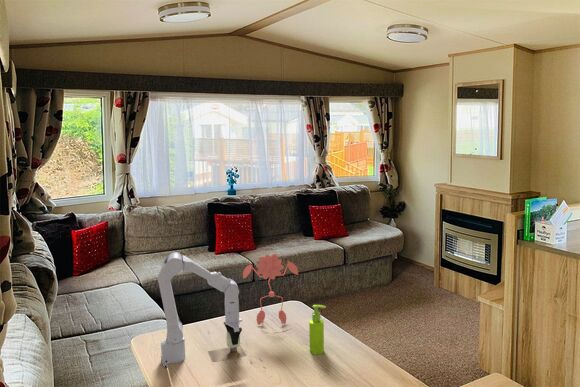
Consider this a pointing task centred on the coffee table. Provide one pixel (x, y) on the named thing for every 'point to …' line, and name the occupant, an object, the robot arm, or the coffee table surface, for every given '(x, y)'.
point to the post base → (226, 353)
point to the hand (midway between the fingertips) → (233, 341)
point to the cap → (229, 342)
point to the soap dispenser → (316, 331)
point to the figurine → (270, 269)
